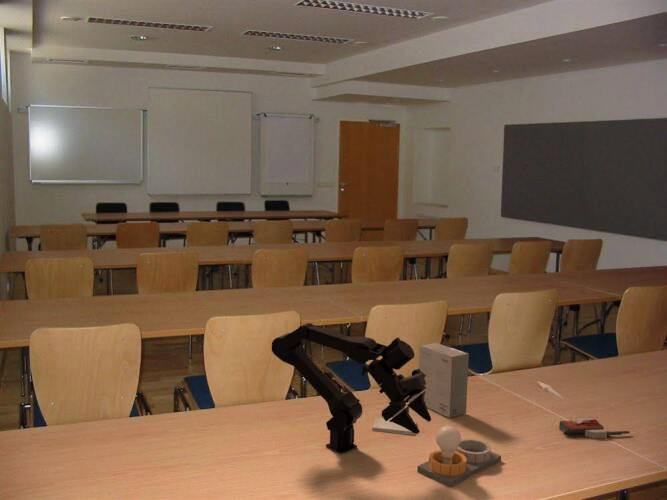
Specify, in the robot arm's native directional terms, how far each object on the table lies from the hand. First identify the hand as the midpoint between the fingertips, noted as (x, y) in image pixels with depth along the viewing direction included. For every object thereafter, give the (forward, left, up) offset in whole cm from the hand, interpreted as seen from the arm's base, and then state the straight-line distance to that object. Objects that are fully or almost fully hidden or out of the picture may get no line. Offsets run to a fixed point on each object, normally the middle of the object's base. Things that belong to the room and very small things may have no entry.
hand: (424, 426), depth 181 cm
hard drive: (+14, +22, -12) cm, 29 cm away
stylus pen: (+79, +8, -12) cm, 80 cm away
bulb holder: (+8, -6, -11) cm, 15 cm away
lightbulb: (+2, -6, -10) cm, 12 cm away
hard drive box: (+37, +23, -11) cm, 45 cm away
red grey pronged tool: (+56, -19, -12) cm, 61 cm away
